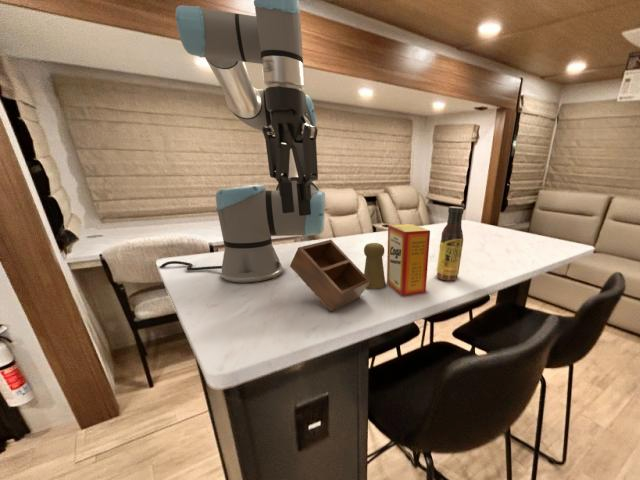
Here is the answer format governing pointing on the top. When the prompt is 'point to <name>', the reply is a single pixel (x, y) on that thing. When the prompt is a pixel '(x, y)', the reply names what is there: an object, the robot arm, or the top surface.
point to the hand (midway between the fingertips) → (296, 213)
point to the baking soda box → (407, 258)
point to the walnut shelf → (329, 273)
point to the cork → (374, 265)
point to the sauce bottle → (451, 246)
